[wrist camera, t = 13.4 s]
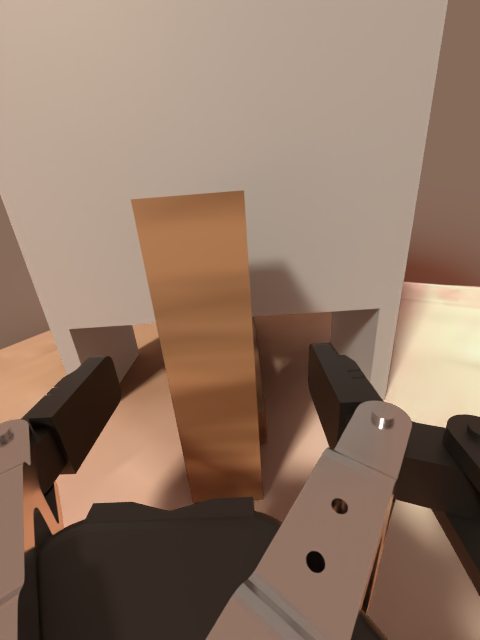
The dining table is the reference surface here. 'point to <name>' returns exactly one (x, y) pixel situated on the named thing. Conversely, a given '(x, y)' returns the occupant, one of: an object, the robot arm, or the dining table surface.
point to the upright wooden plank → (207, 336)
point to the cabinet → (218, 153)
